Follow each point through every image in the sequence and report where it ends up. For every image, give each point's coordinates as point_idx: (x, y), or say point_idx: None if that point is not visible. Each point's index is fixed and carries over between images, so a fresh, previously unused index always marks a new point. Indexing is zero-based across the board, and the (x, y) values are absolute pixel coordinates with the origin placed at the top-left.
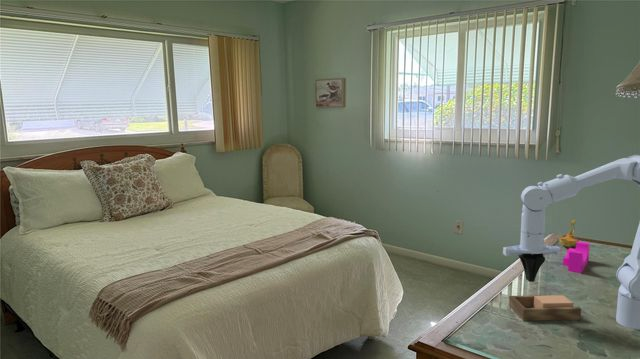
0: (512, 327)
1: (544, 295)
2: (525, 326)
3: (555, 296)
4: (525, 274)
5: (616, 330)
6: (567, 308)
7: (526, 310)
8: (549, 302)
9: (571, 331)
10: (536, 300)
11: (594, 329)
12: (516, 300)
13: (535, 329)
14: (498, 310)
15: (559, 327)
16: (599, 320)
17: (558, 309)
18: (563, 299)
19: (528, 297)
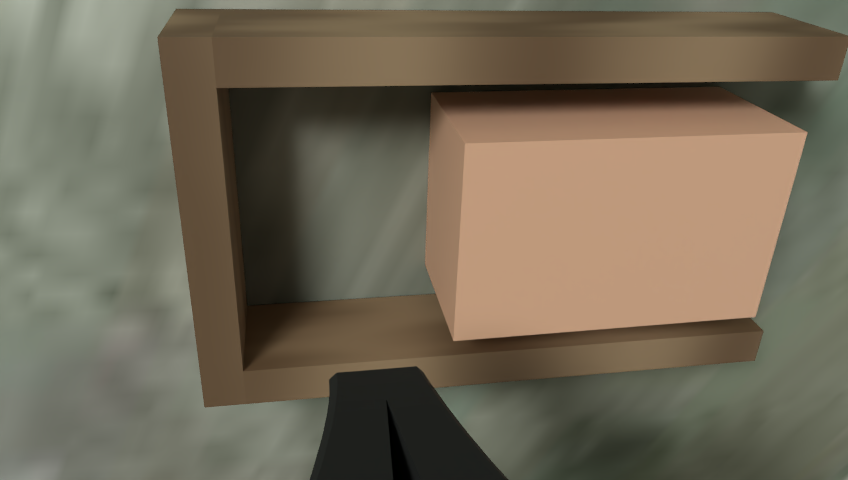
0: (74, 447)
1: (634, 44)
2: (195, 426)
3: (702, 163)
4: (327, 424)
5: (801, 435)
6: (643, 362)
7: (236, 397)
8: (534, 314)
9: (508, 467)
10: (454, 190)
11: (679, 432)
12: (208, 188)
13: (259, 462)
14: (12, 124)
15: (460, 423)
16: (822, 311)
17: (554, 374)
18: (725, 244)
19: (409, 85)
